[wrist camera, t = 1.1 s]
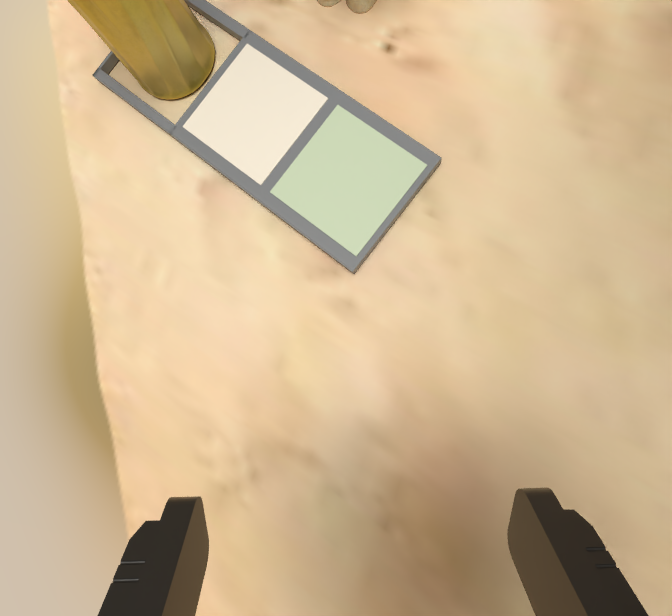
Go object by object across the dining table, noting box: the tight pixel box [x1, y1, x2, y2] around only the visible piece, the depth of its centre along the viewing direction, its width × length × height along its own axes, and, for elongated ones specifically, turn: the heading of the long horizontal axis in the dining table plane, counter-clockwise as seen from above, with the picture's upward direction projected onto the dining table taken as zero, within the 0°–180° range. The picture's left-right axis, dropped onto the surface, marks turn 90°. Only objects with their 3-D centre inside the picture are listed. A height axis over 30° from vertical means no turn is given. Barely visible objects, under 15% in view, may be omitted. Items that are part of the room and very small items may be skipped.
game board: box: [93, 0, 441, 274], centre depth 32 cm, size 9×24×1 cm, turn 52°
